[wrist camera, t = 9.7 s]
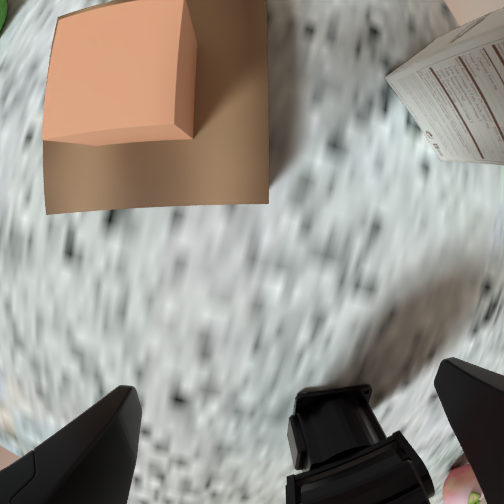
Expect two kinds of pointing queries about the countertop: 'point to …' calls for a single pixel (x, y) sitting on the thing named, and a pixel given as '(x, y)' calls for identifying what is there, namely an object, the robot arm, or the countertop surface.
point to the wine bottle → (3, 12)
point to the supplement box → (459, 91)
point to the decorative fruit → (462, 487)
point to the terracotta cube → (122, 75)
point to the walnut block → (204, 132)
